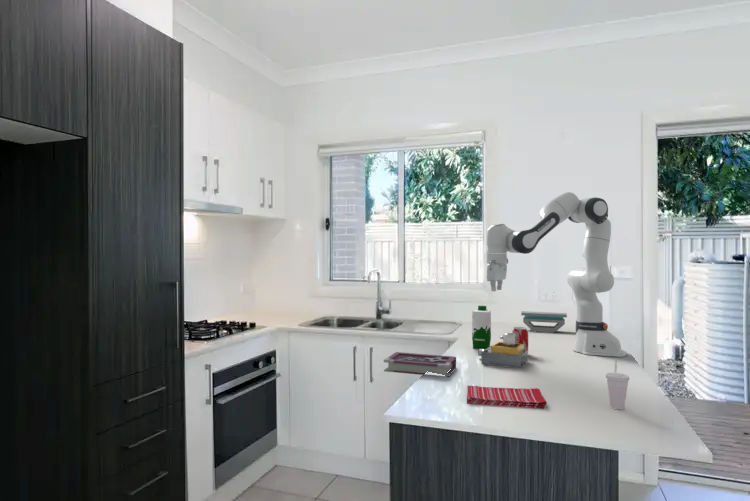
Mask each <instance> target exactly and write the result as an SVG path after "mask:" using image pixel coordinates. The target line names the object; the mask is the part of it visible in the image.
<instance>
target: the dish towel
mask: <svg viewBox="0 0 750 501" xmlns="http://www.w3.org/2000/svg"><path fill="white" fill-rule="evenodd" d="M466 390H467V392H466V404H473V405H482V406H494V407H495V406H496V407H511V408H513V407H514V408H525V409H527V408H529V409H542V410H543V409H545V406H546V405H547V404H548V402H547V401H546V398H545V397H544V396H543V395H542V392H541V389H540V388H534V387H533V388H522V387H521V388H520V387H518V388H515V387H489V386H488V387H486V386H479V385H467V389H466Z"/></svg>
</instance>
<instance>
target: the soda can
mask: <svg viewBox="0 0 750 501" xmlns="http://www.w3.org/2000/svg"><path fill="white" fill-rule="evenodd" d="M511 333H514V334H515V343H517V344H524V349H526V350H528V351H529V331H528V329H527V327H522V326H515V327H513V330H512V332H511Z"/></svg>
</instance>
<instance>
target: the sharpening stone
mask: <svg viewBox="0 0 750 501" xmlns="http://www.w3.org/2000/svg"><path fill="white" fill-rule="evenodd" d="M520 314H521V316H523V319H522V322H523V323H524V324H525V326H526V327H528V328H529V329H530V331H532V332H533V331H540V332H539V333H545V332H555V333H556V332H557V331H559V329H561V328H562V327H563V326H565V323H566V320H565V318H567V317H568V315H567V314H568V313H567V312H549V311H548V312H547V311H523V310H522V311H521V313H520ZM533 322H535V323H551V324H555V325H539V324H538V325H534V324H533Z"/></svg>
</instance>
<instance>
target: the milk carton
mask: <svg viewBox="0 0 750 501" xmlns="http://www.w3.org/2000/svg"><path fill="white" fill-rule="evenodd" d="M471 317H472V318H471V319H472V320H471V340H472V349H478V350H479V349H487V348H488V347H490V346H491V342H492V311H491V309H487V305H478V306H477V309H474V310H472V316H471Z"/></svg>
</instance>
